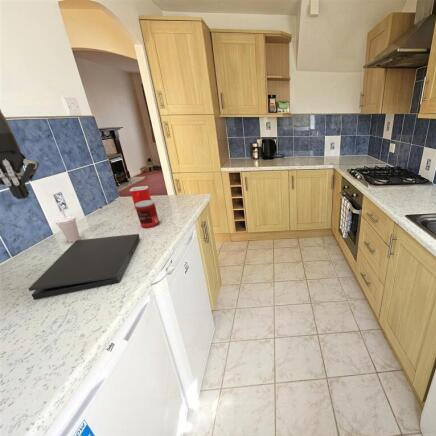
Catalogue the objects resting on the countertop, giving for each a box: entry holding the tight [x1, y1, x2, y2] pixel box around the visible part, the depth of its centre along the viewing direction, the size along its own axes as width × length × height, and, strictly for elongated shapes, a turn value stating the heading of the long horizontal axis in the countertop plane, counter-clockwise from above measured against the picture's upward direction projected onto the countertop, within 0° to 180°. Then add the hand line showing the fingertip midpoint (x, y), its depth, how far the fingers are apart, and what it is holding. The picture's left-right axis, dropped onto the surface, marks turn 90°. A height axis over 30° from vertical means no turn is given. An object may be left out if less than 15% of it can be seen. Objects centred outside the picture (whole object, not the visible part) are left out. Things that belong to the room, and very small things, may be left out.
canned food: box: [134, 199, 160, 229], centre depth 112 cm, size 8×8×11 cm
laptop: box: [31, 235, 141, 301], centre depth 84 cm, size 21×30×2 cm
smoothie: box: [54, 208, 81, 243], centre depth 99 cm, size 6×6×14 cm
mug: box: [129, 185, 152, 210], centre depth 134 cm, size 12×8×11 cm
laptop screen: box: [27, 233, 140, 292], centre depth 84 cm, size 21×30×1 cm
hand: (22, 198), depth 67 cm, fingers closed
